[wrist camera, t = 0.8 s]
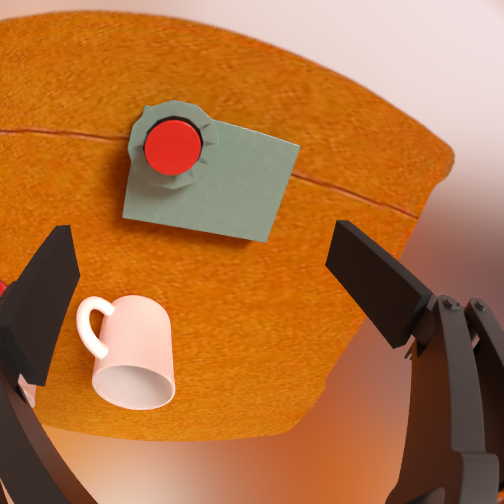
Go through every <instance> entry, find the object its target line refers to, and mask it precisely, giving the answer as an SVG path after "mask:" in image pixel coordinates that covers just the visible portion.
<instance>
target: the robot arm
mask: <svg viewBox="0 0 504 504" xmlns="http://www.w3.org/2000/svg"><path fill="white" fill-rule="evenodd" d="M325 266H326V267H327V268H328V269H329V270H330V271H331V273H332V274H333V275H334V276H335V277H336V278H337V280H338V281H339V282H340V283H341V284H342V286H343V287H344V288H345V289H346V290H347V292H348V293H349V294H350V295H351V297H352V298H353V299H354V300H355V301H356V303H357V304H358V305H359V306H360V308H361V309H362V310H363V311H364V312H365V314H366V315H367V316H368V317H369V319H370V320H371V321H372V322H373V324H374V325H375V326H376V327H377V329H378V330H379V331H380V333H381V334H382V335H383V336H384V338H385V339H386V340H387V341H388V343H389V344H390V345H391V347H392V348H393V349H394V348H397V347H400V346H403V345H405V344H406V343H407V341H408V339H409V338H410V336H411V334H412V335H413V336H414V337H415V338H416V339H415V340H414V342H413V344H412V345H411V347H410V348H409V350H408V352H407V353H406V355H405V358H407V357H408V356H409V354H412V356H411V358H410V360H412V376H411V377H412V378H411V394H410V407H409V417H408V427H407V434H406V441H405V448H404V453H403V459H402V464H401V470H400V474H399V479H398V482H397V484H396V486H395V487H394V489H393V490H392V491H391V493H390V494H389V496H388V498H387V499H386V502H385V504H504V331H503V329H502V328H501V326H500V324H499V323H498V321H497V319H496V318H495V316H494V315H493V313H492V311H491V310H490V308H489V307H488V306H487V304H485V303H484V301H483V300H481V299H477V298H471V299H470V300H469V302H468V304H467V306H466V307H461V305H460V304H459V303H458V302H457V301H456V300H454V299H453V298H451V297H449V296H445V295H442V296H439V297H437V296H436V295H434V293H432V292H431V291H430V290H429V289H428V288H427V287H426V286H425V285H424V284H423V283H422V282H420V281H419V280H418V279H417V278H416V277H415V276H414V275H413V274H412V273H410V271H408V270H407V269H406V268H405V267H404V266H403V265H402V264H400V263H399V262H398V261H397V260H396V259H395V258H393V257H392V256H391V255H390V254H389V253H388V252H386V251H385V250H384V249H383V248H382V247H380V246H379V245H378V244H377V243H376V242H374V241H373V240H372V239H371V238H370V237H368V236H367V235H366V234H365V233H363V232H362V231H361V230H360V229H358V228H357V227H356V226H355V225H353V224H352V223H351V222H349V221H347V220H337V221H336V225H335V229H334V233H333V237H332V241H331V245H330V249H329V253H328V257H327V261H326V264H325ZM79 278H80V272H79V268H78V264H77V259H76V255H75V250H74V245H73V240H72V234H71V228H70V225H62V226H56V227H55V228H54V229H53V230H52V232H51V233H50V234H49V236H48V237H47V238H46V240H45V241H44V242H43V244H42V245H41V246H40V248H39V249H38V250H37V252H36V253H35V254H34V256H33V257H32V259H31V260H30V262H29V263H28V265H27V266H26V267H25V269H24V270H23V272H22V273H21V275H20V277H19V278H18V280H17V281H13V282H12V283H11V284H10V285H9V286H8V287H7V288H5V290H4V291H3V293H2V294H1V296H0V479H1V481H2V482H3V484H4V486H5V488H6V490H7V492H8V494H9V495H10V497H11V499H12V500H13V502H14V504H98V503H97V502H96V501H95V500H94V498H93V497H92V496H91V495H90V494H89V493H88V492H87V490H86V489H85V488H84V487H83V485H81V483H80V482H79V480H78V479H77V478H76V477H75V475H74V474H73V473H72V471H71V470H70V469H69V467H68V466H67V465H66V463H65V462H64V460H63V459H62V457H61V456H60V455H59V453H58V452H57V450H56V448H55V447H54V445H53V444H52V442H51V441H50V439H49V437H48V436H47V434H46V432H45V431H44V429H43V427H42V426H41V424H40V422H39V420H38V418H37V417H36V415H35V413H34V411H33V409H32V407H31V405H30V403H29V401H28V399H27V397H26V395H25V393H24V391H23V389H22V387H21V386H20V384H19V383H18V380H19V376H20V374H21V375H22V377H23V378H24V379H25V381H26V382H27V384H31V385H38V386H45V383H46V378H47V374H48V370H49V366H50V363H51V359H52V355H53V352H54V348H55V345H56V342H57V339H58V335H59V332H60V329H61V326H62V323H63V320H64V317H65V314H66V312H67V309H68V306H69V303H70V301H71V298H72V295H73V293H74V290H75V288H76V285H77V283H78V280H79ZM477 335H478V337H479V339H480V340H479V342H478V343H477V345H476V346H475V348H474V349H473V348H472V342H473V341H474V339H475V338H476V336H477ZM0 504H8V502H7V499H6V497H5V494H4V491H3V488H2V485H1V482H0Z"/></svg>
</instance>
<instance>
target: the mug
mask: <svg viewBox="0 0 504 504" xmlns="http://www.w3.org/2000/svg"><path fill="white" fill-rule="evenodd" d="M92 309H96V310H99V311H100V312H102V313H103V314H104V318H103V322H102V326H101V331H100V336H99V339H98V338H97V337H96V336H95V335H94V333H93V331H92V329H91V327H90V323H89V314H90V312H91V310H92ZM76 325H77V330H78V333H79V336H80V338H81V340H82V342H83V343H84V345H85V346H86V348H87V349H88V350H89V351H90V352H91V353H92V354H93V355H94V356H95V363H94V369H93V375H92V384H93V387H94V389H95V391H96V392H97V393H98V394H99V395H100V396H101V397H102V398H103V399H105V400H106V401H108V402H110V403H112V404H114V405H117V406H120V407H123V408H128V409H134V410H148V409H154V408H158V407H161V406H163V405H165V404H167V403H168V402H169V401H171V399H172V398H173V396H174V394H175V383H174V372H173V358H172V343H171V326H170V320H169V317H168V315H167V313H166V311H165V310H164V309H163V307H162V306H161V305H159V304H158V303H157V302H155V301H153V300H151V299H149V298H147V297H143V296H138V295H129V296H124V297H120V298H118V299H116V300H115V301H113V302H112V303H109V302H108V301H106V300H105V299H103V298H100V297H88V298H86V299H85V300H83V301H82V302H81V304H80V305H79V307H78V310H77V314H76Z"/></svg>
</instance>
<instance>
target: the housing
mask: <svg viewBox="0 0 504 504" xmlns="http://www.w3.org/2000/svg"><path fill="white" fill-rule="evenodd" d="M168 120H181V121H184V122H186V123H188V124H189V125H191V126H192V127H193V128H194V130H195V131H196V132H197V134H198V136H199V139H200V144H201V149H200V154H199V157H198V159H197V161H196V162H195V164H194V165H193V166H192V167H191V168H190V169H189V170H187V171H185V172H184V173H181V174H178V175H165V174H162V173H159V172H157V171H156V170H154V169H153V168H152V167H151V166H150V164H149V163H148V161H147V159H146V156H145V143H146V140H147V137H148V135H149V134H150V132H151V131H152V130H153V129H154V128H155V127H156V126H158V125H159V124H161V123H163V122H165V121H168ZM127 149H128V153H129V156H130V159H131V165H130V171H129V176H128V182H127V187H126V194H125V200H124V207H123V214H122V218H127V219H133V220H139V221H145V222H151V223H157V224H163V225H168V226H174V227H180V228H186V229H192V230H197V231H203V232H209V233H215V234H220V235H226V236H231V237H237V238H243V239H248V240H254V241H259V242H265V243H266V242H267V239H268V236H269V233H270V230H271V228H272V225H273V222H274V219H275V217H276V214H277V211H278V208H279V205H280V203H281V200H282V197H283V194H284V191H285V189H286V186H287V183H288V180H289V177H290V175H291V172H292V169H293V166H294V163H295V160H296V158H297V155H298V152H299V149H300V146H299V145H296V144H294V143H291V142H288V141H285V140H282V139H279V138H276V137H273V136H270V135H267V134H264V133H260V132H257V131H254V130H250V129H247V128H244V127H240V126H236V125H233V124H229V123H225V122H222V121H218V120H214V119H211V118H210V117H209V116H208V115H207V114H206V113H205V112H204V111H203V110H202V109H201V108H200V107H199V106H197V105H195V104H190V103H186V102H181V101H176V100H171V101H168V102H165V103H162V104H159V105H156V106H148V105H145V106H144V110H143V113H142V116H141V117H140V118H139V119H138V120H137V122H136V123H135V124H134V125H133V127H132V131H131V135H130V139H129V144H128V148H127Z"/></svg>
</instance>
